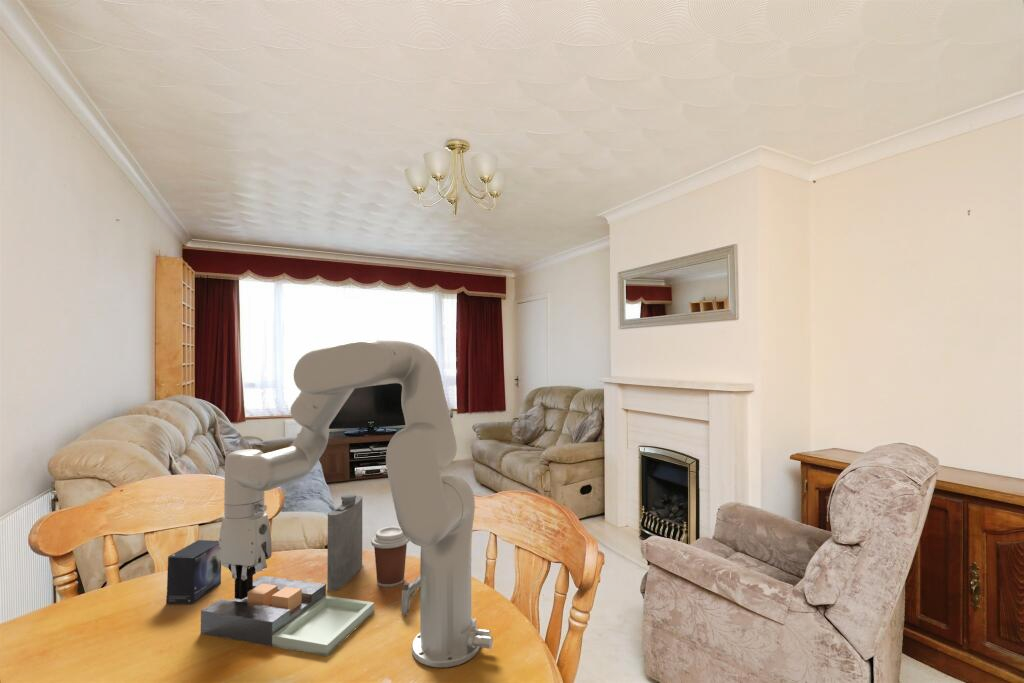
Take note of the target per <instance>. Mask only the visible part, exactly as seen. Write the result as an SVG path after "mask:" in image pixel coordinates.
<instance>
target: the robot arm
mask: <svg viewBox="0 0 1024 683" xmlns="http://www.w3.org/2000/svg"><path fill="white" fill-rule="evenodd" d="M439 367H440V366H439V365H438V362H437V361H436V359H435V357H434V356H433V355H432V354H431V352H429V350H427V349H425V348H424V347H422V346H420V345H418V344H415V343H413V342H412V343H411V342H406V341H400V340H386V339H385V340H383V339H381V340H380V339H363V340H362V339H361V340H356V341H355V340H354V341H350V342H346V343H341V344H337V345H333V346H329V347H324V348H319V349H315V350H311V351H308V352H307V353H305V354H304V355H303V356H301V357H300V359H298V361H297V363H296V364H295V367H294V370H293V380H294V381H293V382H294V384H295V386H296V387H297V389H298V390H300V392H299V394H298V396H297V397H296V398H295V400H294V401H293V403H292V404H291V406H290V415H291V418H292V419H293V420H294V421H295V422H296V423H297V424H298V425H299V426H301V429H300V431H299V433H298V434H297V435H296V437H295V439H294V440H293V442H292V443H291V444H290V445H289V446H288V447H284V448H280V449H277V450H273V451H268V452H266V453H264V451H262V450H260V449H255V448H253V449H252V448H250V449H249V448H248V449H238V450H234V451H231V452H229V453H227V455H226V456H225V459H224V497H223V498H224V500H223V501H224V502H223V503H224V506H223V508H224V509H223V512H224V514H223V516H222V519H221V523H220V524H221V525H220V528H219V537H218V541H219V559H220V561H221V567H225V568H226V569H228V570H229V571H230V573H231V578H232V579H233V580H234V598H235V599H238V598H239V599H241V600H242V599H244V598H245V597H247V596H248V591H250V590H252V589H253V581H254V578H253V577H254V576H255V575H256V574H257V572H262V571H264V570H265V569H267V567H268V565H267V560H269V559H270V558H272V553H273V552H272V551H273V550H272V548H273V547H272V546H273V545H272V532H271V525H270V520H269V515H268V513H265V512H266V511H267V510H268V506H267V505H266V504H265V492H266V491H267V492H268V491H271V490H274V489H277V488H279V487H282V486H285V485H287V484H290V483H293V482H296V481H299V480H301V479H303V478H305V476H307V475H308V474H309V473H310V472H311V471H312V469H314V467H315V465H316V464H317V463H318V462H319V459H320V458H321V457H322V455H323V454H324V453H325V451H326V449H327V446H328V442H329V438H330V425H331V424H332V422H333V421H334V420H335V418H336V417H337V415H338V413H339V412H340V410H341V409H342V407H343V406H344V405H345V403H346V402H347V400H348V399H349V397H350V396H351V395H352V393H353V392H354V390H355V389H359V388H366V387H367V388H368V387H372V386H382V385H389V384H400V385H401V387H402V388H401V399H400V401H401V409H402V413H403V418H404V423H405V427H404V428H402V429H400V430H398V431H397V432H396V433H395V434H394V435H393V436H392V437H391V439H390V441H389V443H388V444H387V448H386V454H385V467H386V472H387V477H388V482H389V486H390V491H391V496H392V502H393V506H394V510H395V515H396V519H397V521H398V527H400V528H401V530H402V532H403V534H404V535H405V537H406V538H407V539H408V540H409V542H411V543H412V544H414V545H415V546H419V547H420V565H419V566H420V567H419V568H420V569H419V570H420V571H419V572H420V575H419V576H420V586H419V587H420V589H419V590H420V591H419V592H420V593H419V594H420V595H419V597H420V601H419V602H420V605H419V606H420V607H419V608H420V609H419V610H420V611H419V612H420V621H419V624H420V627H419V629H420V631H419V633H418V634H416V636H415V637H414V638H413V640H412V643H411V654H412V655H413V658H414V659H415V660H416V661H418V662H419V663H421V664H422V665H425V666H428V667H433V668H450V667H456V666H459V665H461V664H465V663H466V662H468V661H470V660H472V658H473V657H475V656H476V654H477V653H478V652H479V650H480V648H481V649H482V648H483V649H490V650H491V649H492V647H493V644H494V643H493V642H494V638H493V636H491V630H490V629H485V628H479V626H477V618H476V617H472V543H473V541H472V540H473V539H472V538H473V529H474V526H473V525H474V518H475V506H476V505H475V504H476V502H475V495H474V491H473V489H472V487H471V485H470V484H469V482H468V481H467V480H466V479H464V478H463V477H461V476H459V475H456V474H444V475H441V470H442V469H445V468H446V467H448V466H449V465H450V464H451V463H452V462H453V461H454V459H455V458H456V456H457V451H458V446H457V445H458V444H457V439H456V436H455V432H454V427H453V422H452V419H451V414H450V409H449V405H448V402H447V397H446V394H445V389H444V384H443V380H442V374H441V371H440V368H439Z"/></svg>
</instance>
